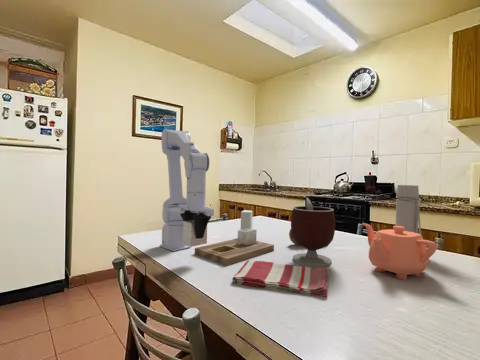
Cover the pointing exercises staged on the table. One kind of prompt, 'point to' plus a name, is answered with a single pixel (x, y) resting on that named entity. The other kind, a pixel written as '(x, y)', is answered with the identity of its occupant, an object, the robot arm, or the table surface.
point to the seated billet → (247, 237)
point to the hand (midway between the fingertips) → (195, 236)
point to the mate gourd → (312, 233)
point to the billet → (192, 234)
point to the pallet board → (232, 251)
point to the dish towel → (283, 277)
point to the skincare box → (246, 219)
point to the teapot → (399, 251)
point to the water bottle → (408, 208)
